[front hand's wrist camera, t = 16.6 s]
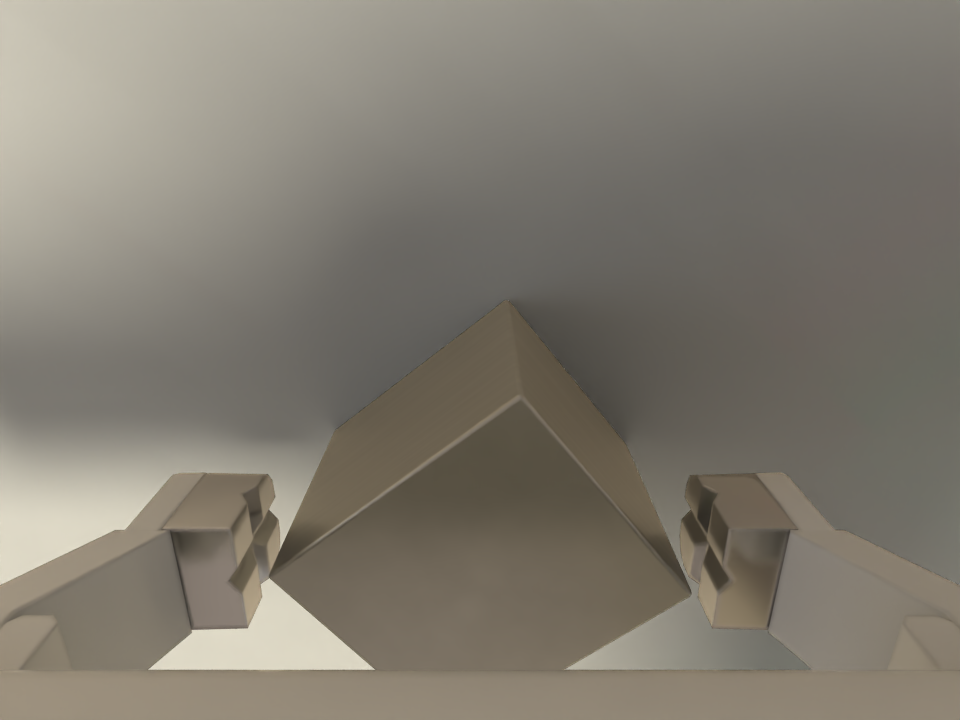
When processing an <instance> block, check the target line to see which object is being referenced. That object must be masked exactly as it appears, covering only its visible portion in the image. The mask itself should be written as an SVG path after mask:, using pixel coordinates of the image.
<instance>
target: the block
mask: <svg viewBox="0 0 960 720" xmlns="http://www.w3.org/2000/svg"><path fill="white" fill-rule="evenodd" d="M269 577H270V579H271V580H272V581H273V582H275V583H276V584H277V585H278V586H279V587H280V588H282V589H283V590H284V591H285V592H286V593H287V594H288V595H290V596H291V597H292V598H293V599H294V600H295V601H297V602H298V603H299V604H300V605H301V606H302V607H303V608H305V609H306V610H307V611H308V612H309V613H310V614H312V615H313V616H314V617H315V618H316V619H317V620H318V621H320V622H321V623H322V624H323V625H324V626H325V627H327V628H328V629H329V630H330V631H331V632H332V633H333V634H335V635H336V636H337V637H338V638H339V639H340V640H342V641H343V642H344V643H345V644H346V645H347V646H348V647H350V648H351V649H352V650H353V651H354V652H355V653H357V654H358V655H359V656H360V657H361V658H362V659H364V660H365V661H366V662H367V663H368V664H369V665H370V666H372V667H373V668H374V669H375V670H564V669H566V668H568V667H569V666H571V665H573V664H575V663H576V662H578V661H580V660H581V659H583V658H585V657H587V656H588V655H590V654H592V653H594V652H595V651H597V650H599V649H600V648H602V647H604V646H606V645H607V644H609V643H611V642H613V641H614V640H616V639H618V638H619V637H621V636H623V635H625V634H626V633H628V632H630V631H632V630H633V629H635V628H637V627H638V626H640V625H642V624H644V623H645V622H647V621H649V620H651V619H652V618H654V617H656V616H657V615H659V614H661V613H663V612H664V611H666V610H668V609H670V608H671V607H673V606H675V605H676V604H678V603H680V602H682V601H683V600H685V599H687V598H689V597H690V596H691V589H690V587H689V585H688V583H687V580H686V578H685V576H684V574H683V571H682V569H681V567H680V565H679V562H678V560H677V558H676V556H675V553H674V551H673V549H672V547H671V544H670V542H669V540H668V538H667V535H666V533H665V531H664V529H663V526H662V524H661V522H660V520H659V517H658V515H657V513H656V511H655V508H654V506H653V504H652V502H651V499H650V497H649V495H648V493H647V490H646V488H645V486H644V484H643V481H642V479H641V477H640V475H639V472H638V470H637V468H636V466H635V463H634V461H633V459H632V457H631V454H630V452H629V450H628V448H627V445H626V444H625V443H624V441H623V440H622V439H621V438H620V436H619V435H618V434H617V433H616V431H615V430H614V429H613V428H612V427H611V425H610V424H609V423H608V422H607V420H606V419H605V418H604V417H603V416H602V414H601V413H600V412H599V411H598V409H597V408H596V407H595V406H594V404H593V403H592V402H591V401H590V400H589V398H588V397H587V396H586V395H585V393H584V392H583V391H582V390H581V388H580V387H579V386H578V385H577V384H576V382H575V381H574V380H573V379H572V377H571V376H570V375H569V374H568V373H567V371H566V370H565V369H564V368H563V366H562V365H561V364H560V363H559V361H558V360H557V359H556V358H555V357H554V355H553V354H552V353H551V352H550V350H549V349H548V348H547V347H546V345H545V344H544V343H543V342H542V341H541V339H540V338H539V337H538V336H537V334H536V333H535V332H534V331H533V330H532V328H531V327H530V326H529V325H528V323H527V322H526V321H525V320H524V318H523V317H522V316H521V315H520V314H519V312H518V311H517V310H516V309H515V307H514V306H513V305H512V304H511V302H510V301H508V300H505V301H503V302H502V303H501V304H500V305H498V306H497V307H496V308H494V309H493V310H492V311H490V312H489V313H488V314H486V315H485V316H484V317H483V318H481V319H480V320H479V321H477V322H476V323H475V324H473V325H472V326H471V327H470V328H468V329H467V330H466V331H464V332H463V333H462V334H460V335H459V336H458V337H456V338H455V339H454V340H453V341H451V342H450V343H449V344H447V345H446V346H445V347H443V348H442V349H441V350H439V351H438V352H437V353H436V354H434V355H433V356H432V357H430V358H429V359H428V360H426V361H425V362H424V363H423V364H421V365H420V366H419V367H417V368H416V369H415V370H413V371H412V372H411V373H409V374H408V375H407V376H406V377H404V378H403V379H402V380H400V381H399V382H398V383H396V384H395V385H394V386H393V387H391V388H390V389H389V390H387V391H386V392H385V393H383V394H382V395H381V396H379V397H378V398H377V399H376V400H374V401H373V402H372V403H370V404H369V405H368V406H366V407H365V408H364V409H363V410H361V411H360V412H359V413H357V414H356V415H355V416H353V417H352V418H351V419H349V420H348V421H347V422H346V423H344V424H343V425H342V426H340V427H339V428H338V429H336V430H335V432H334V434H333V436H332V438H331V440H330V442H329V445H328V447H327V449H326V451H325V453H324V455H323V458H322V460H321V462H320V464H319V466H318V468H317V471H316V473H315V475H314V477H313V479H312V482H311V484H310V486H309V488H308V490H307V492H306V495H305V497H304V499H303V501H302V503H301V506H300V508H299V510H298V512H297V514H296V516H295V519H294V521H293V523H292V525H291V527H290V530H289V532H288V534H287V536H286V538H285V540H284V543H283V545H282V547H281V549H280V551H279V553H278V556H277V558H276V560H275V562H274V564H273V567H272V569H271V571H270V573H269Z"/></svg>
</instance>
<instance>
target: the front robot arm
mask: <svg viewBox="0 0 960 720" xmlns="http://www.w3.org/2000/svg"><path fill="white" fill-rule="evenodd" d="M274 498H275V492H274V487H273V481H272V479H271V478H270V476H269V475H268V474H235V473H178V474H174V475H172V476H171V477H170V478H169V480H168V481H167V482H166V483H165V484H164V485H163V487H162V488H161V489H160V490H159V491H158V492H157V494H156V495H155V496H154V497H153V498H152V499H151V500H150V502H149V503H148V504H147V505H146V506H145V507H144V509H143V510H142V511H141V512H140V513H139V514H138V515H137V517H136V518H135V519H134V520H133V521H132V522H131V524H130V525H129V526H128V527H127V528H126V529H125V530H114V531H112V532H110V533H108V534H106V535H104V536H102V537H100V538H98V539H96V540H93V541H91V542H89V543H87V544H85V545H83V546H81V547H79V548H77V549H75V550H73V551H71V552H68V553H66V554H64V555H62V556H60V557H58V558H56V559H54V560H52V561H50V562H48V563H46V564H43V565H41V566H39V567H37V568H35V569H33V570H31V571H29V572H27V573H25V574H23V575H21V576H18V577H16V578H14V579H12V580H10V581H8V582H6V583H4V584H2V585H0V720H960V585H958V584H956V583H954V582H952V581H949V580H947V579H945V578H943V577H941V576H939V575H937V574H935V573H933V572H931V571H929V570H927V569H925V568H922V567H920V566H918V565H916V564H914V563H912V562H910V561H908V560H906V559H904V558H902V557H900V556H898V555H895V554H893V553H891V552H889V551H887V550H885V549H883V548H881V547H879V546H877V545H875V544H873V543H871V542H868V541H866V540H864V539H862V538H860V537H858V536H856V535H854V534H852V533H850V532H848V531H846V530H835V529H834V528H833V527H832V526H831V525H830V524H829V523H828V521H827V520H826V519H825V518H824V517H823V516H822V514H821V513H820V512H819V511H818V510H817V509H816V508H815V506H814V505H813V504H812V503H811V502H810V501H809V499H808V498H807V497H806V496H805V495H804V494H803V492H802V491H801V490H800V489H799V488H798V487H797V486H796V484H795V483H794V482H793V481H792V480H791V479H790V477H789V476H788V475H786V474H783V473H781V472H776V473H751V474H712V475H690V477H689V479H688V482H687V485H686V491H685V499H686V501H687V502H688V504H689V506H690V508H691V510H690V511H689V512H688V513H687V514H686V515H685V516H684V517H683V519H682V520H681V528H680V550H681V556H682V560H683V564H684V567H685V569H686V572H687V574H688V576H689V577H690V578H691V579H693V580H694V581H696V582H697V583H698V584H699V591H698V598H699V601H700V603H701V605H702V607H703V609H704V611H705V614H706V616H707V618H708V620H709V622H710V624H711V627H712V628H722V629H758V630H768V633H769V634H771V635H772V636H773V637H774V638H775V639H777V640H778V641H779V642H780V643H781V644H782V645H784V646H785V647H786V648H787V649H788V650H790V651H791V652H792V653H793V654H794V655H796V656H797V657H798V658H799V659H800V660H801V661H803V662H804V663H805V664H806V665H807V666H809V667H810V668H811V669H812V670H148V669H149V668H150V667H151V666H153V665H154V664H155V663H156V662H157V661H159V660H160V659H161V658H162V657H163V656H165V655H166V654H167V653H168V652H169V651H171V650H172V649H173V648H174V647H175V646H177V645H178V644H179V643H180V642H181V641H183V640H184V639H185V638H186V637H187V636H188V635H190V634H191V633H192V630H201V629H236V628H248V627H249V624H250V622H251V620H252V618H253V616H254V614H255V611H256V609H257V607H258V605H259V603H260V600H261V598H262V592H261V585H260V584H262V583H263V582H264V581H266V580H267V579H269V578H270V577H269V573H270V571H271V569H272V567H273V564H274V562H275V560H276V558H277V556H278V553H279V549H280V527H279V520H278V519H277V518H276V517H275V515H274V514H273V513H272V512H271V511H270V510H269V508H270V506H271V504H272V502H273V500H274Z"/></svg>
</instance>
